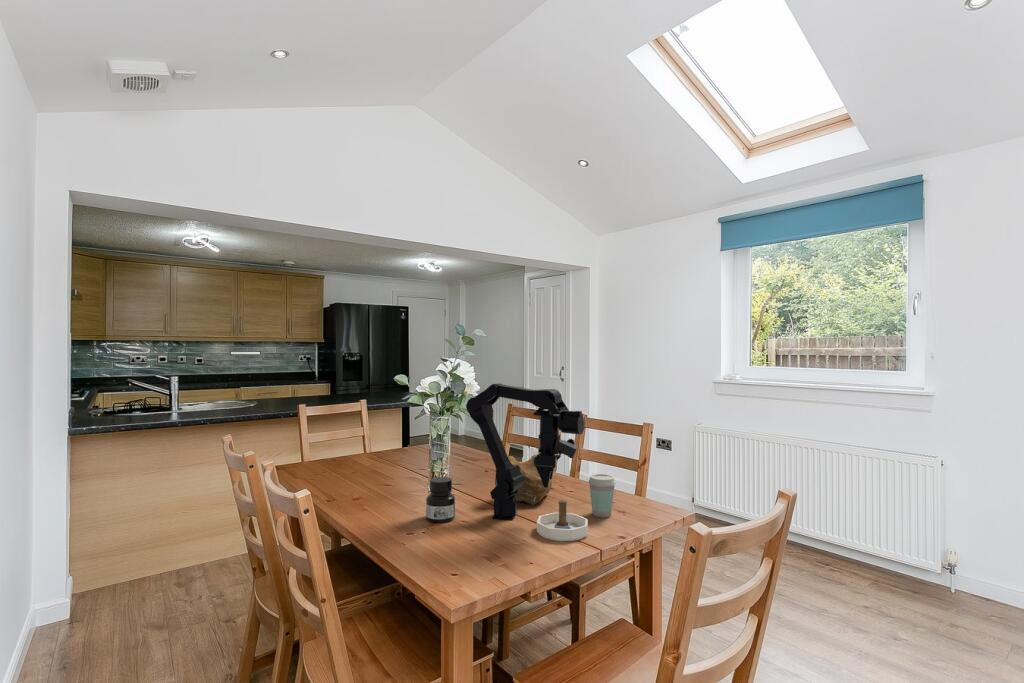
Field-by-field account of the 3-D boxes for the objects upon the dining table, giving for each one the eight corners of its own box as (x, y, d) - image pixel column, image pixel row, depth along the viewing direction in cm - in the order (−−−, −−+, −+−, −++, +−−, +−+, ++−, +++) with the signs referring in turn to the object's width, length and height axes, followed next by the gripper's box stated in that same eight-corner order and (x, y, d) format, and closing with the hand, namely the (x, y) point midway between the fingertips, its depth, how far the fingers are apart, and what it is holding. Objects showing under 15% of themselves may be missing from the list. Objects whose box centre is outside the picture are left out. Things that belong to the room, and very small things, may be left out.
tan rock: (521, 515, 164) (525, 469, 163) (487, 499, 176) (491, 456, 175) (567, 502, 180) (571, 460, 179) (534, 489, 192) (537, 449, 191)
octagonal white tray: (534, 539, 141) (534, 527, 141) (541, 522, 155) (541, 511, 155) (586, 543, 138) (586, 531, 138) (588, 525, 152) (588, 514, 152)
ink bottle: (422, 523, 153) (422, 483, 153) (427, 513, 162) (427, 475, 162) (454, 523, 153) (454, 483, 153) (457, 514, 162) (458, 476, 162)
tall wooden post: (558, 530, 146) (558, 502, 146) (559, 527, 148) (559, 500, 148) (565, 530, 145) (565, 502, 146) (566, 528, 147) (566, 500, 148)
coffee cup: (619, 513, 164) (619, 475, 164) (609, 520, 156) (610, 481, 157) (594, 508, 168) (594, 472, 168) (584, 516, 161) (584, 477, 161)
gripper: (573, 438, 143) (572, 494, 142) (578, 427, 161) (577, 477, 161) (534, 436, 145) (533, 491, 145) (543, 426, 163) (542, 474, 163)
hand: (548, 483), depth 153 cm, fingers open, 9 cm apart
